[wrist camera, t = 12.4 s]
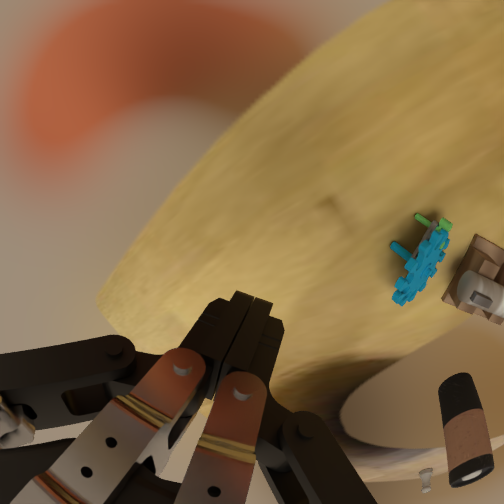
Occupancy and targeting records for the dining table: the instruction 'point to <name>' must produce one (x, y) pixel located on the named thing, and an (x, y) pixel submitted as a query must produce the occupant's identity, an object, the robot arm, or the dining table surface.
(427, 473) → the rook chess piece
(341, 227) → the dining table surface
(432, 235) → the gear
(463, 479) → the travel mug
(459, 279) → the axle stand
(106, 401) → the robot arm
